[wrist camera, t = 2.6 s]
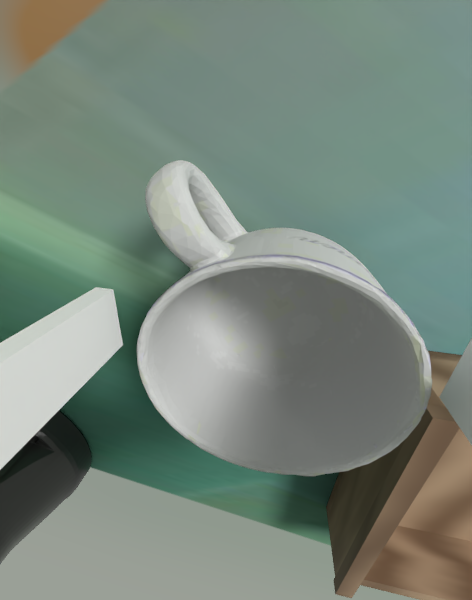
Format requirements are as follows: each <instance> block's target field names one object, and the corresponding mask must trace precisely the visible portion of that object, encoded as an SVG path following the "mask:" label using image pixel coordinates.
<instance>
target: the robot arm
mask: <svg viewBox="0 0 472 600" xmlns="http://www.w3.org/2000/svg"><path fill="white" fill-rule="evenodd" d="M122 345H123V342H122V337H121V331H120V325H119V319H118V314H117V308H116V302H115V297H114V291H113V289H105V288H98V287H96V288H94V289H92V290H91V291H89V292H87V293H85V294H84V295H82V296H80V297H79V298H77V299H75V300H73V301H72V302H70V303H68V304H67V305H65V306H63V307H61V308H60V309H58V310H56V311H54V312H53V313H51V314H49V315H48V316H46V317H44V318H42V319H41V320H39V321H37V322H36V323H34V324H32V325H30V326H29V327H27V328H25V329H23V330H22V331H20V332H18V333H17V334H15V335H13V336H11V337H10V338H8V339H6V340H4V341H3V342H1V343H0V564H1V562H2V561H3V560H4V558H5V557H6V556H7V555H8V553H9V552H10V551H11V550H12V549H13V548H14V547H15V546H16V545H17V544H18V543H19V542H20V541H21V540H22V539H23V538H24V537H26V536H27V535H28V534H29V533H30V532H31V531H32V530H33V529H34V528H35V527H36V526H38V525H39V524H40V523H41V522H42V521H43V520H44V519H45V518H46V517H47V516H48V515H49V514H50V513H51V512H52V511H53V510H54V509H55V508H57V506H58V505H59V504H61V503H62V502H63V501H64V500H65V499H66V498H67V497H69V496H70V495H71V494H72V493H73V492H74V490H75V489H76V488H77V487H78V485H79V484H80V482H81V481H82V479H83V478H84V476H85V475H86V473H87V472H88V470H89V468H90V466H91V452H90V449H89V446H88V444H87V442H86V440H85V439H84V437H83V435H82V434H81V433H80V431H79V430H78V429H77V428H76V427H75V425H74V424H73V423H72V422H71V421H70V420H69V419H68V418H66V417H65V416H64V415H63V414H62V413H61V412H59V410H60V409H61V408H62V407H63V406H64V405H65V403H66V402H67V401H68V400H69V399H70V398H71V397H72V396H73V395H74V394H75V393H76V392H77V391H78V390H79V389H80V388H81V387H82V386H83V385H84V384H85V383H86V382H87V381H88V380H89V379H90V378H91V377H92V376H93V375H94V374H95V373H96V372H97V371H98V370H99V369H100V368H101V367H102V366H103V365H104V364H105V363H106V362H107V361H108V360H109V359H110V358H111V357H112V356H113V355H114V354H115V353H116V352H117V351H118V349H119V348H120V347H121V346H122ZM440 399H441V400H442V402H443V403H444V405H445V406H446V408H447V409H448V411H449V412H450V414H451V415H452V417H453V418H454V420H455V421H456V423H457V424H458V426H459V427H460V429H461V430H462V432H463V433H464V435H465V436H466V438H467V439H468V441H469V442H470V444H471V445H472V339H471V340H470V342H469V344H468V346H467V348H466V349H465V351H464V353H463V355H462V357H461V359H460V360H459V362H458V364H457V366H456V368H455V369H454V371H453V373H452V375H451V377H450V379H449V380H448V382H447V384H446V386H445V388H444V389H443V391H442V393H441V395H440Z"/></svg>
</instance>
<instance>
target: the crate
mask: <svg viewBox="0 0 472 600" xmlns="http://www.w3.org/2000/svg"><path fill="white" fill-rule="evenodd" d="M428 352H429V355H430V363H431V379H432V388H431V396H430V398H429V401H428V404H427V408H426V410H425V412H424V414H423V416H422V417H421V421H420V422H419V424H418V425H417V426H416V427H415V429H414V430H413V431H412V432H411V433H410V435H409V436H408V437H407V438H406V439H405V440H404V441H403V442H402V443H400V445H399V446H398V447H396V448H395V449H393V450H392V451H391V452H389V453H387V454H385V455H384V456H382V457H380V458H378V459H377V460H375V461H373V462H371V463H369V464H366V465H363V466H360V467H357V468H354V469H351V470H349V471H343V472H339V474H338V477H337V480H336V482H335V485H334V488H333V490H332V493H331V496H330V498H329V501H328V504H327V506H326V509H327V517H328V524H329V532H330V540H331V547H332V555H333V563H334V571H335V578H334V586H335V594H338V595H341V596H345V597H349V598H352V597H353V595H354V594H355V592H356V590H357V589H358V588H359V586H360V585H363V586H367V587H371V588H375V589H379V590H383V591H388V592H391V593H396V594H400V595H404V596H407V597H412V598H416V599H420V600H472V445H471V444H470V442H469V441H468V439H467V438H466V436H465V435H464V433H463V432H462V430H461V429H460V427H459V426H458V424H457V423H456V421H455V420H454V418H453V417H452V415H451V414H450V412H449V411H448V409H447V408H446V406H445V405H444V403H443V402H442V400H441V399H440V395H441V393H442V391H443V389H444V388H445V386H446V384H447V382H448V380H449V379H450V377H451V375H452V373H453V371H454V369H455V368H456V366H457V364H458V362H459V360H460V359H461V357H462V355H456V354H448V353H441V352H433V351H428Z"/></svg>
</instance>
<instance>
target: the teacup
mask: <svg viewBox="0 0 472 600" xmlns="http://www.w3.org/2000/svg"><path fill="white" fill-rule="evenodd" d="M145 200H146V206H147V211H148V214H149V217H150V219H151V222H152V224H153V226H154V228H155V230H156V231H157V233H158V234H159V236H160V238H161V239H162V241H163V243H164V244H165V245H166V246H167V247H168V248H169V249H170V250H171V252H172V253H174V254H175V255H176V256H177V257H178V258H179V259H180V260H181V261H182V262H183V263H184V264H186V265H187V266H188V267H190V270H191V271H190V272H189V273H188V274H187V275H185V276H184V277H183V278H181V279H180V280H178V281H177V282H175V283H174V284H173V285H172V286H171V287H170V288H169V289H167V290H166V291H165V292H164V293H163V294H162V295H161V296H160V297H159V298H158V300H157V301H156V302H155V303H154V304H153V306H152V307H151V308H150V310H149V311H148V313H147V315H146V318H145V320H144V322H143V324H142V326H141V329H140V333H139V337H138V341H137V363H138V368H139V373H140V376H141V379H142V383H143V385H144V387H145V389H146V392H147V394H148V397H149V398H150V400H151V401H152V403H153V405H154V406H155V408H156V409H157V410H158V412H159V413H160V414H161V415H162V417H163V418H164V419H165V420H166V421H167V422H168V423H169V424H170V425H171V426H172V427H173V428H174V429H175V430H177V431H178V432H179V433H180V434H181V435H182V436H184V437H185V438H186V439H188V440H190V441H191V442H192V443H194V444H195V445H197V446H198V447H199V448H201V449H203V450H205V451H207V452H209V453H210V454H212V455H214V456H216V457H219V458H221V459H223V460H225V461H228V462H231V463H233V464H236V465H240V466H242V467H246V468H250V469H254V470H258V471H262V472H269V473H278V474H284V475H300V476H317V475H322V474H329V473H335V472H343V471H349V470H351V469H354V468H357V467H360V466H363V465H366V464H369V463H371V462H373V461H375V460H377V459H378V458H380V457H382V456H384V455H385V454H387V453H389V452H391V451H392V450H393V449H395V448H396V447H398V446H399V445H400V443H402V442H403V441H404V440H405V439H406V438H407V437H408V436H409V435H410V433H411V432H412V431H413V430H414V429H415V427H416V426H417V425H418V424H419V422H420V421H421V417H422V416H423V414H424V412H425V410H426V408H427V404H428V401H429V398H430V396H431V388H432V379H431V363H430V355H429V352H428V350H427V349H426V347H425V343H424V340H423V339H422V337H421V335H420V334H419V332H418V331H417V329H416V327H415V325H414V323H413V322H412V321H411V319H410V318H409V317H408V316H407V315H406V313H405V312H404V311H403V310H402V309H401V308H400V307H399V306H398V304H397V303H396V302H395V301H394V300H393V299H392V298H390V297H389V296H388V295H387V293H386V292H385V291H384V289H383V288H382V287H381V285H380V284H379V283H378V281H377V280H376V279H375V278H374V276H373V275H372V274H371V273H370V272H369V270H368V269H367V268H366V267H365V266H364V265H363V264H362V263H361V262H360V261H359V260H358V259H357V258H356V257H355V256H353V255H352V254H351V253H350V252H349V251H347V250H346V249H344V248H343V247H342V246H340V245H338V244H337V243H335V242H333V241H332V240H329V239H327V238H325V237H323V236H320V235H318V234H315V233H311V232H308V231H304V230H300V229H292V228H269V229H262V230H256V231H253V232H249V233H248V232H246V230H245V229H244V228H243V226H242V225H241V224H240V223H239V222H238V221H237V220H236V218H235V217H234V215H233V214H232V212H231V211H230V209H229V208H228V206H227V205H226V203H225V202H224V200H223V199H222V197H221V196H220V194H219V193H218V192H217V190H216V189H215V187H214V186H213V185H212V183H211V182H210V181H209V179H208V178H207V177H206V175H205V174H204V173H203V172H202V171H200V170H199V169H198V168H197V167H196V166H195V165H193V164H192V163H189V162H187V161H182V160H178V161H174V162H171V163H169V164H166V165H165V166H163V167H162V168H161V169H160V170H158V171H157V172H156V173H155V174H154V175H153V177H152V178H151V179H150V180H149V183H148V185H147V187H146V198H145Z"/></svg>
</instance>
